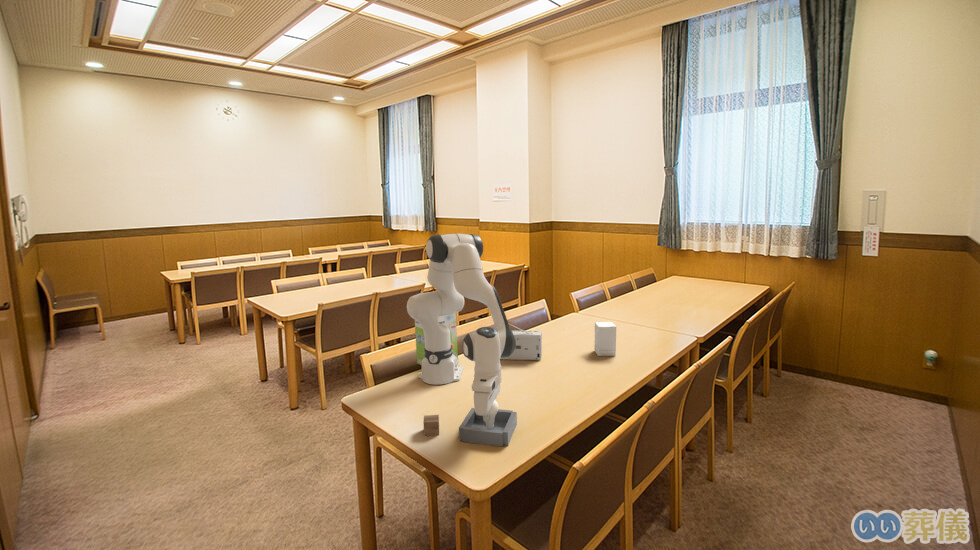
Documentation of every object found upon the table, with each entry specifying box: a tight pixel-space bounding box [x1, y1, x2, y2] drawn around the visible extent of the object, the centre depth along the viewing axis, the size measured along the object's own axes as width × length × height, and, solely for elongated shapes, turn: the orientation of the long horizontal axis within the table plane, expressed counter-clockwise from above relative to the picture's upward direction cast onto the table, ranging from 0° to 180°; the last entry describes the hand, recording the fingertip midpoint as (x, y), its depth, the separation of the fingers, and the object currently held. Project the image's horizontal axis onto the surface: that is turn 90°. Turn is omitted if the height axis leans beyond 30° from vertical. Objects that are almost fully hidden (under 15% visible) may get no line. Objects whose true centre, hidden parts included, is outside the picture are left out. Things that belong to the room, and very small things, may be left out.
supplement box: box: [593, 321, 617, 357], centre depth 232 cm, size 9×9×15 cm
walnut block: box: [422, 414, 440, 437], centre depth 157 cm, size 5×5×5 cm
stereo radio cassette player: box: [500, 322, 543, 361], centre depth 227 cm, size 21×8×20 cm, turn 84°
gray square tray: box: [458, 407, 518, 447], centre depth 156 cm, size 16×16×4 cm
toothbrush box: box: [414, 313, 459, 367], centre depth 222 cm, size 18×10×24 cm, turn 130°
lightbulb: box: [486, 399, 500, 429], centre depth 156 cm, size 6×6×11 cm
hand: (488, 416), depth 156 cm, fingers closed on lightbulb, 5 cm apart
